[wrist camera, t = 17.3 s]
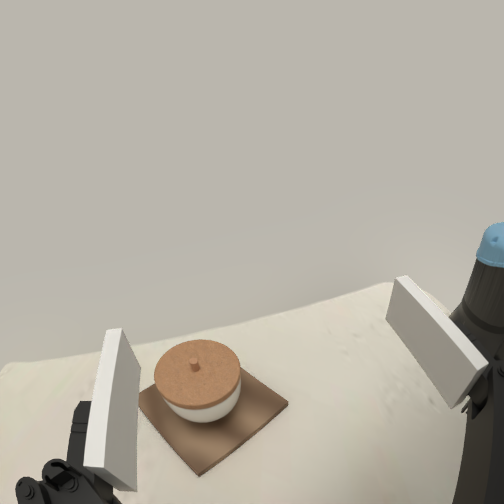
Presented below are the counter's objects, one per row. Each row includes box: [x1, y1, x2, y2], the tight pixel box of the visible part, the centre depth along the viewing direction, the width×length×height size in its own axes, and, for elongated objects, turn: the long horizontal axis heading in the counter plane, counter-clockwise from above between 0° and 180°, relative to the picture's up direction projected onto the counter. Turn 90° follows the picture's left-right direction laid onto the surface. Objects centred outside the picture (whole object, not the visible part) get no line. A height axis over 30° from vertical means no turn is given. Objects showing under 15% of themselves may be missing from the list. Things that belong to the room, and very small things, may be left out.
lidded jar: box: [154, 340, 241, 423], centre depth 35 cm, size 11×11×9 cm
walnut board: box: [138, 367, 288, 476], centre depth 38 cm, size 16×16×1 cm
